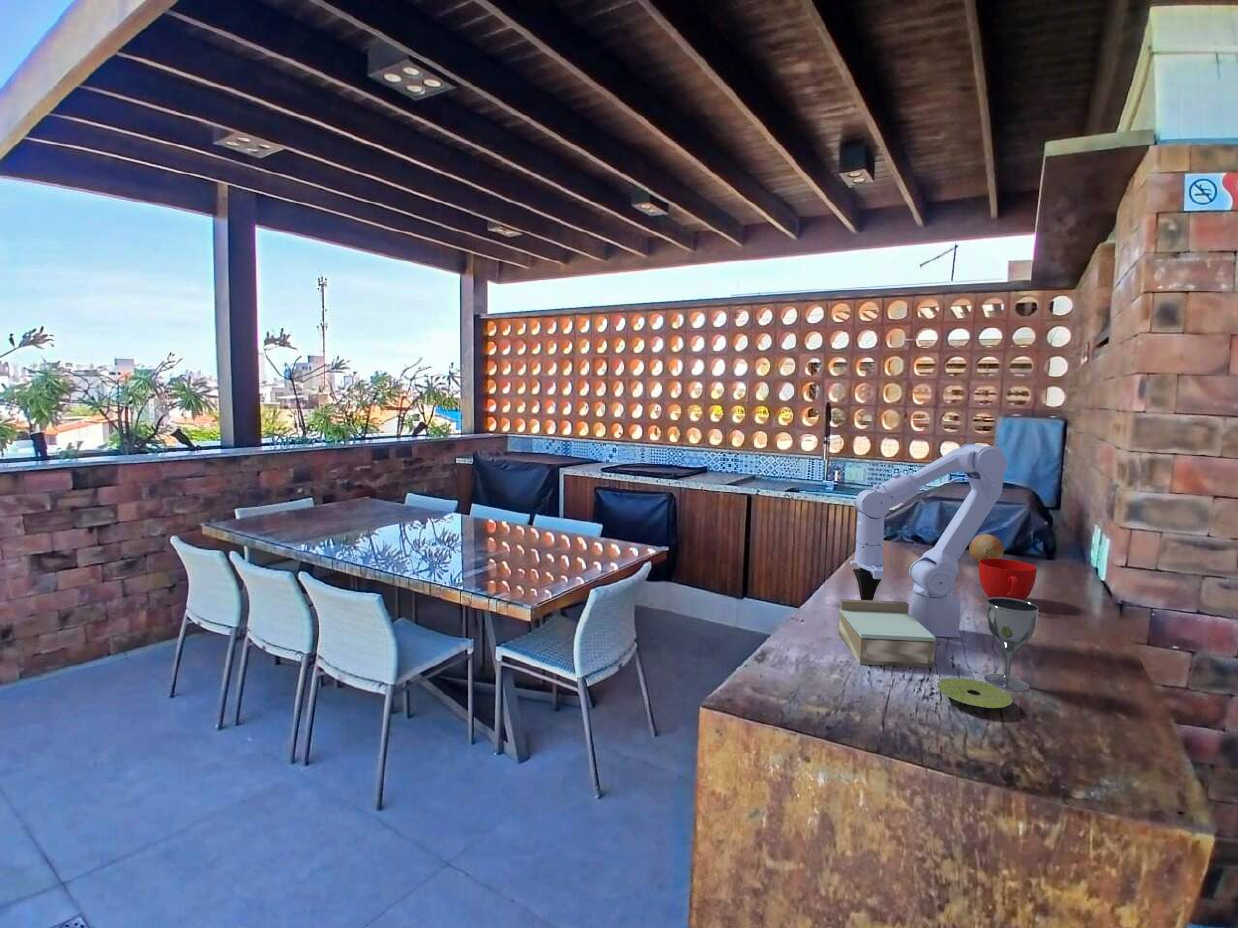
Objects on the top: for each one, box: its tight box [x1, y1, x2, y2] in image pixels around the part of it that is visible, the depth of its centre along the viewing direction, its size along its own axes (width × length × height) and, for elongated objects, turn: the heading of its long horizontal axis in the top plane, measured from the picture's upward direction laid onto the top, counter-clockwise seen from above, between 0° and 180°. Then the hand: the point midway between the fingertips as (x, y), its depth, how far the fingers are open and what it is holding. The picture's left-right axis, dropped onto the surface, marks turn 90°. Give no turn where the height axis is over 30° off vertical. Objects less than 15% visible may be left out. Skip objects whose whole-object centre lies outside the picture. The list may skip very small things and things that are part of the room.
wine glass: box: [984, 597, 1039, 692], centre depth 113 cm, size 8×8×15 cm
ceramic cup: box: [978, 558, 1038, 601], centre depth 161 cm, size 13×17×10 cm
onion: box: [968, 533, 1005, 563], centre depth 202 cm, size 10×10×10 cm
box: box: [838, 612, 936, 669], centre depth 128 cm, size 14×16×5 cm
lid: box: [839, 598, 937, 643], centre depth 128 cm, size 14×16×3 cm
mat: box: [936, 677, 1013, 709], centre depth 106 cm, size 11×11×2 cm
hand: (866, 601), depth 140 cm, fingers closed
